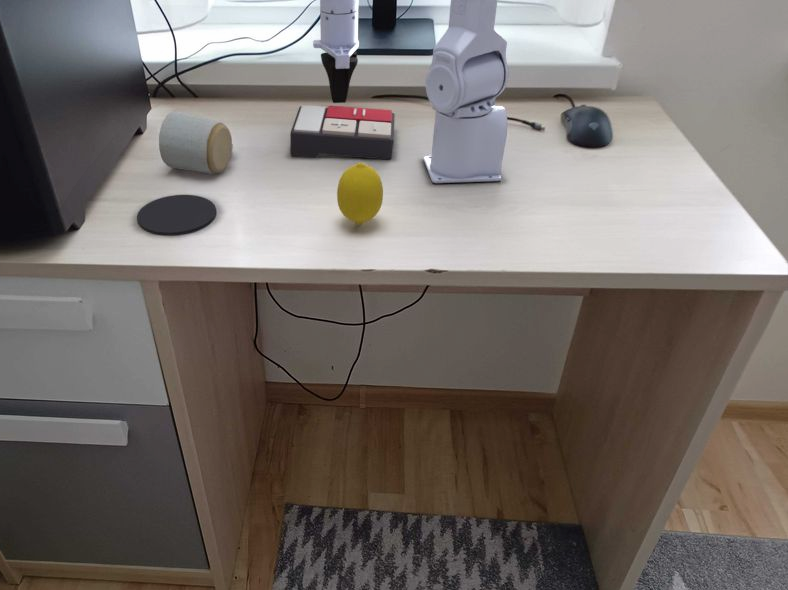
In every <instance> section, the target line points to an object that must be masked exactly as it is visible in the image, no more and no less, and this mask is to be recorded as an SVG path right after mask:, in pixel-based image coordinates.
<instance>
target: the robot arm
mask: <svg viewBox="0 0 788 590" xmlns="http://www.w3.org/2000/svg"><path fill="white" fill-rule="evenodd" d="M497 7H498V0H450V5H449V16H448V28H447V29H446V31H445V32H444V33H443V35H442V36H441V37H440V38H439V40H438V42H437V43H436V44H435V45H434V47H433V52H432V60H431V63H430V67H429V68H428V71H427V73H426V76H425V92H426V96H427V99H428V101H429V103H430V104H431V106H432V108H431V109H432V110H433V111H435V113H434V122H433V123H434V125H433V134H432V144H431V155H428V156H426V155H425V156H424V157H423V163H424V165H425V168H426V170H427V173H428V175H429V177H430V180H431V182H432V183H434V184H450V183H453V184H454V183H475V182H476V183H477V182H478V183H479V182H480V183H481V182H499V181H501V180H502V176H501V171H502V166H503V165H502V164H503V161H504V154H505V148H506V142H507V137H508V114H507V111H506V109H505V107H503V106H502V105H496V98H497V97H499V96H500V95H501V94H502V93H503V92H504V90H505V88H506V87H507V85H508V82H509V72H510V71H509V64H508V61H507V46H508V41H507V40H506V39H505V38H504V37H503V36H502V35H501V34H500V33H499V32H498V31H497V30H496V29H495V25H496V23H495V22H496V17H497V16H496V15H497ZM319 12H320V13H319V14H320V15H319V16H320V19H319V20H320V21H319V22H320V39H314V40H313V41H312V46H313V48H314V49H320V50H322V51H323V52H322V53H320V58H321V64H322V66H323V67H324V70H325V72H326V75H327V79H328V85H329V90H330V96H331V100H332V103H333V104H345V103H346V102H347V99H348V94H349V90H350V89H349V88H350V84H351V81H352V77H353V74H354V71H355V70H356V67H357V65H358V63H359V59H358V53H357V50H358V49H359V46H360V40H359V0H319Z"/></svg>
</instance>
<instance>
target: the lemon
mask: <svg viewBox="0 0 788 590" xmlns="http://www.w3.org/2000/svg"><path fill="white" fill-rule="evenodd" d="M383 186H384V185H383V182H382V179H381V176H380V174H379V173H378V171H376V169H375V168H373V167H372V166H370V165H368V164H366V163H364V162H361V161H359V162H357V163H356V164H353V165H351V166H349V167H348V168H347V169H345V170H344V171H343V173H342V174H341V176H340V178H339V181H338V185H337V188H336V189H337V191H336V200H337V206H338V208H339V210H340V212H341V214H342V215H343V217H345V218H346V219H347V220H349V221H351V222H354V223H355V224H356V225H357V226H359V225H362V224H364V223H366V222H368V221H371V220H372V219H374V218H375V217H376V216H377V215H378V214H379V212H380V210H381V207H382V206H383V205H382V204H383V201H384V199H383V198H384V187H383Z"/></svg>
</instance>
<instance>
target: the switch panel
mask: <svg viewBox="0 0 788 590" xmlns="http://www.w3.org/2000/svg"><path fill="white" fill-rule="evenodd" d="M395 115H396V114H395V113H394V112H393V110H391V109H383V108H369V107H357V106H356V107H354V106H340V105H328V106H327V107H326V106H324V105H323V106H322V105H311V104H302V105H300V106H299V107H298V110H297V113H296V116H295V119H294V120H293V121H294V122H293V124H292V127H291V130H290V150H289V151H290V156H291V157H292V156H293V157H304V158H316V157H318V156H321V155H325V156H327V155H329V156H341V157H355V158H367V159H380V160H391V159H392V157H393V149H394V141H395V119H396V117H395Z"/></svg>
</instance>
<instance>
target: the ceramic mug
mask: <svg viewBox="0 0 788 590" xmlns="http://www.w3.org/2000/svg"><path fill="white" fill-rule="evenodd" d="M158 150H159V154H160V158H161V159H162V162H163V163H164V164H165V165H166V166H167V167H169V168H173V169H178V170H179V169H180V170H186V171H190V172H191V171H192V172H198V173H203V174H219V173H221V172H223V171H224V169H225V168H227V166H228V164H229V161H230V159H231V155H232V154H233V150H234V144H233V139H232V134H231V131H230V129H229V128H228V126H227V125H226V124H225V123H223V122H221V121H218V120H216V119H212V118H208V117H202V116H198V115H194V114H190V113H187V112H182V111H177V110H173V111H171V112H169V113H168V114H167V115H166V116H165V118H164V119H163V121H162V123H161V126H160V129H159V134H158Z"/></svg>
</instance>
